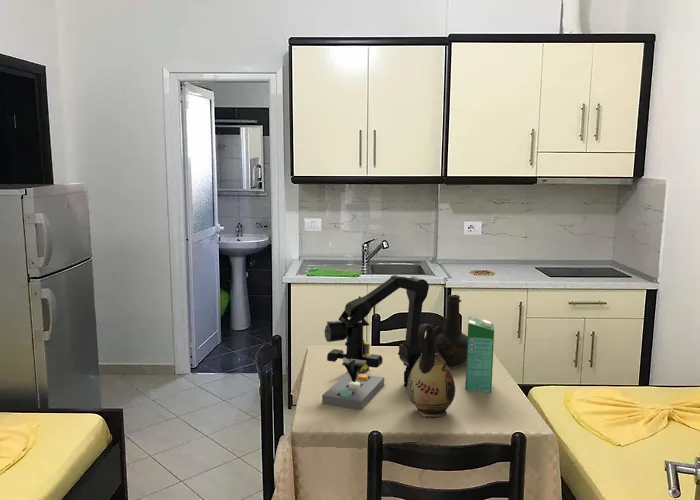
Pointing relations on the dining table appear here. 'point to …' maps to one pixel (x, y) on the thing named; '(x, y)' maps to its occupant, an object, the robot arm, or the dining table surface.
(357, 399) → the console
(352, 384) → the cream button
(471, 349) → the milk carton
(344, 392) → the teal button
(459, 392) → the dining table surface
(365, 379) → the orange button
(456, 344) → the glass bottle
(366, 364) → the supplement box
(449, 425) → the dining table surface
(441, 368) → the ceramic jug
